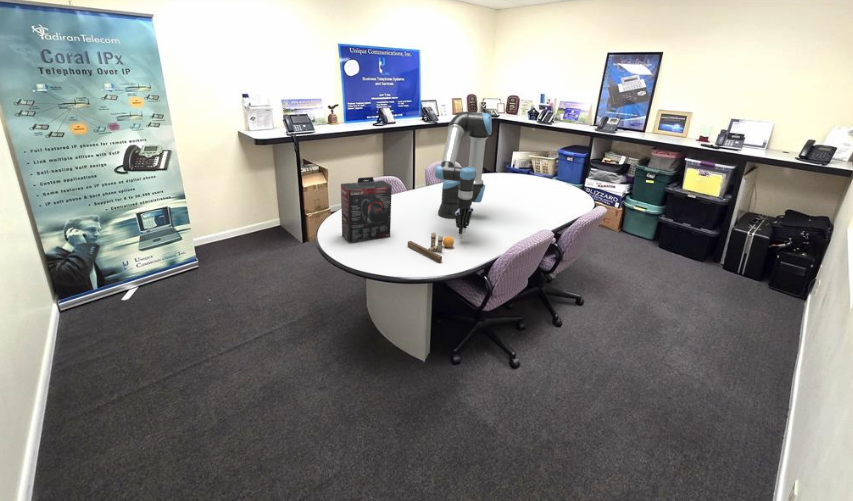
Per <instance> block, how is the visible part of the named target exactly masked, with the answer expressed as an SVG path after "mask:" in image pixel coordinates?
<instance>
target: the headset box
mask: <svg viewBox="0 0 853 501" xmlns="http://www.w3.org/2000/svg"><path fill="white" fill-rule="evenodd" d="M392 190H393V189H392V185H391V184H390V183H389V182H386V181H384V180H374V176H369V177H368V176H367V177H366V176H365V177H358V178H357V182H348V183H340V201H341V204H340V205H341V206H340V207H341V236H342V238H344V239H345V240H346V241H347V242H348V243H349V244H351V243H359V242H364V241H366V242H367V241H372V240H378V239H384V238H390V237H391V222H392V221H391V220H392V215H391V214H392V192H393V191H392Z"/></svg>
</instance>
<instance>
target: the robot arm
mask: <svg viewBox="0 0 853 501" xmlns="http://www.w3.org/2000/svg"><path fill="white" fill-rule="evenodd" d="M492 119H493V118H492V114H490V113H486V112H478V111H477V112H475V111H474V112H473V111H462V112H459V113H457V114H456V115H455V116H453V118H452V119H451V120H450V121H449V123H448V125H447V138H446V143H445V146H444V150H443V153H442V160H441V164H438V165H436V167H435V170H434V177H435V179H437V180H442V181H443V182H442V188H441V201H440V205H439V208H438V210H437V216H439V217H441V218H445V219H455V226H456V228H458V239H459V240H461V241H464V240H465V233H466V229H468V227H469V226H470V221H471V218H472V214H473V212H474V208H472V207H471V206H472V204H473V203H479V204H480V203H481V202H482V201H483V196H484V194H485V189H486V184H484V180H483V178H482V176H483V168H484V158H485V147H486V141H487V139H489V136H490V135H492V132H493V131H492V128H493V126H492V124H493V122H492ZM464 133H468V137H469V138H470V148H469V157H468V158H469V160H468V166H467V167H461V166H460V167H459V166H456V161H457V156H458V152H459V147H460V143H461V138H462V136H463V135H464Z"/></svg>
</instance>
